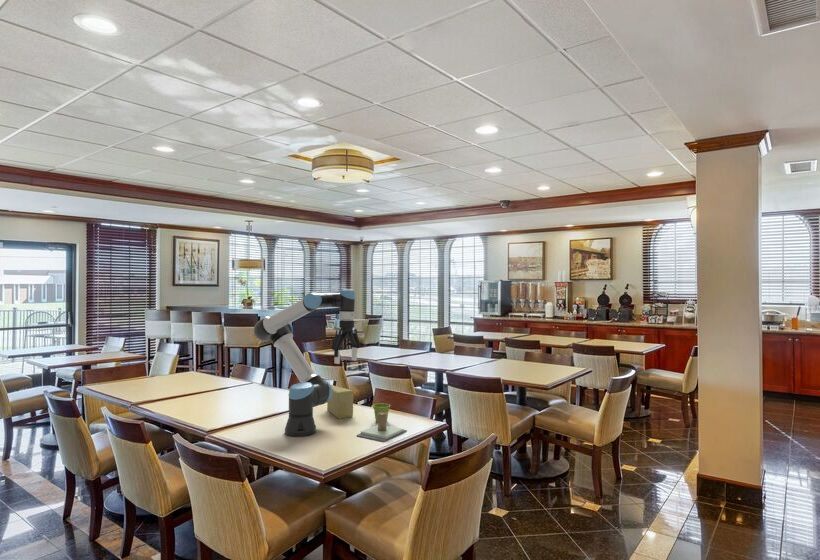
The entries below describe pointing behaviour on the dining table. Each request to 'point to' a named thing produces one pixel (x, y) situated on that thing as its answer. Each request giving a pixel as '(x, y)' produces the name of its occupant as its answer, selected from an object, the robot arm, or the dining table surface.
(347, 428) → the dining table surface
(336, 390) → the cheese
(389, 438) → the mat
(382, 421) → the lid
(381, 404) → the plant pot
